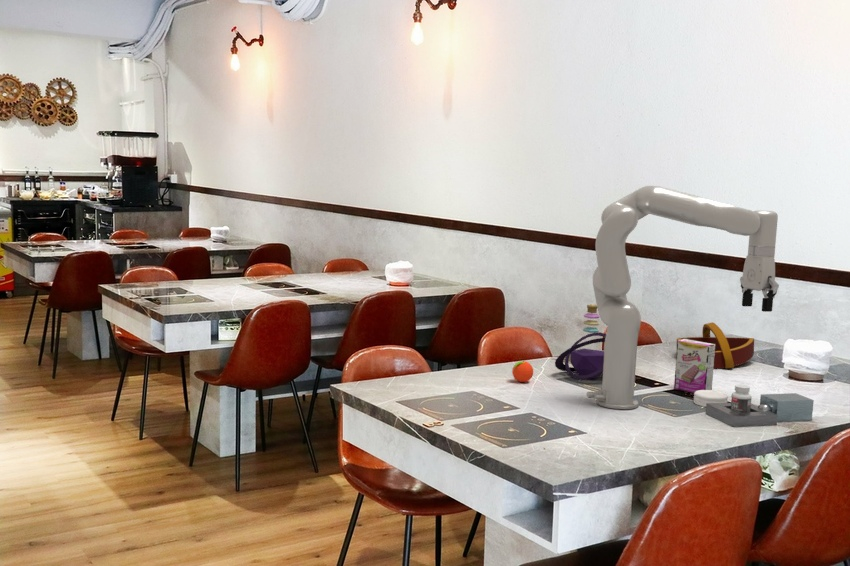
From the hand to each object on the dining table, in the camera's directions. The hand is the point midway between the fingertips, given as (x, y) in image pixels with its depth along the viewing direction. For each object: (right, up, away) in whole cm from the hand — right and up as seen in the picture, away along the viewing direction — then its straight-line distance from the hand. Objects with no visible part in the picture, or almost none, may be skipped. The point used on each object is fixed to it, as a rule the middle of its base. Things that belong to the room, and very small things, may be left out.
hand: (756, 308), depth 267 cm
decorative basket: (+11, -22, +72) cm, 76 cm away
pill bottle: (-9, -32, -10) cm, 35 cm away
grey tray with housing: (-2, -32, -9) cm, 33 cm away
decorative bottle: (-44, -25, +37) cm, 62 cm away
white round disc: (-12, -30, +6) cm, 33 cm away
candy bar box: (-13, -28, +21) cm, 37 cm away
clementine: (-68, -25, +26) cm, 77 cm away
